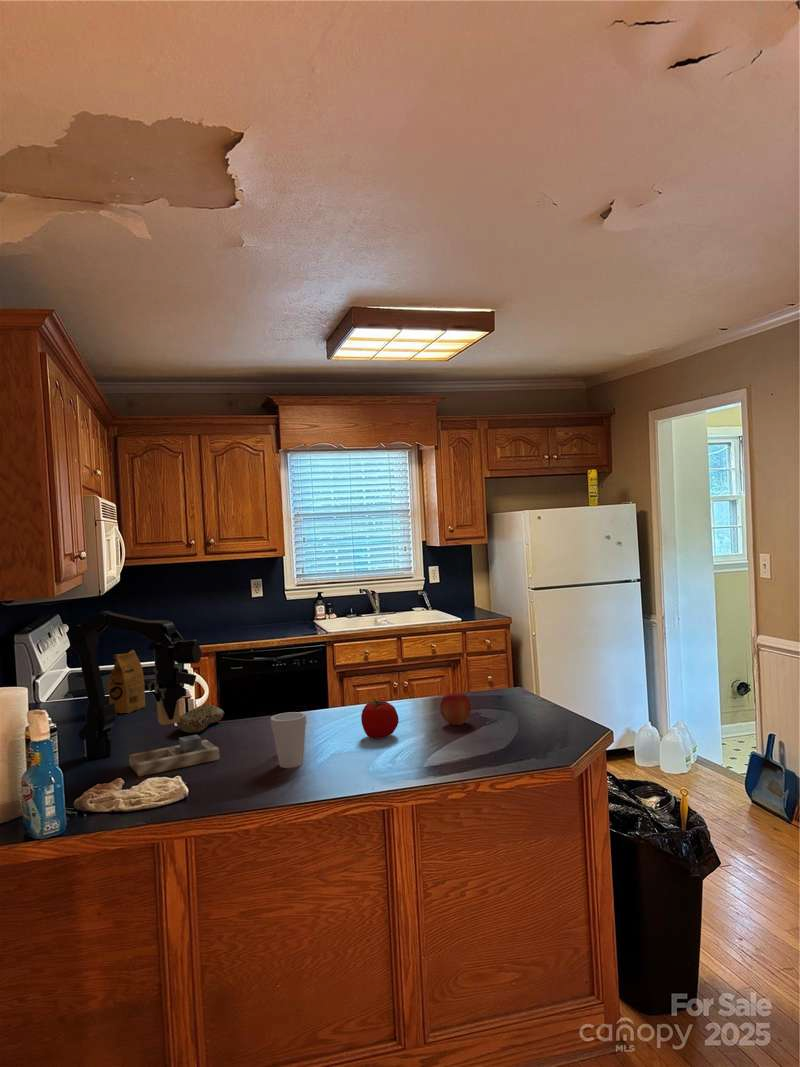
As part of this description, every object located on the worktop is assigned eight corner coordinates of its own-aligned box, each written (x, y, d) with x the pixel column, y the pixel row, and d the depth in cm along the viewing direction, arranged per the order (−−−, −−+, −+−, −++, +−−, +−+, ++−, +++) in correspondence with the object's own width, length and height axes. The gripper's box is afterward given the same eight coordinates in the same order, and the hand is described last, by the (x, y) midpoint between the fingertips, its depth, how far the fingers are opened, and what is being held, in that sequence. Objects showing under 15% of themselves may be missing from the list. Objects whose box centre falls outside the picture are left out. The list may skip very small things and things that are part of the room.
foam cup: (310, 757, 210) (307, 711, 210) (307, 768, 201) (304, 719, 201) (276, 760, 210) (272, 713, 210) (271, 770, 201) (268, 722, 200)
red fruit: (375, 730, 234) (372, 694, 234) (407, 733, 228) (404, 696, 228) (353, 741, 224) (350, 703, 224) (386, 744, 218) (383, 706, 218)
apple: (477, 725, 233) (475, 692, 233) (449, 730, 229) (447, 697, 229) (463, 718, 242) (461, 687, 242) (436, 723, 238) (434, 691, 238)
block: (162, 725, 218) (161, 704, 218) (158, 722, 222) (156, 701, 222) (180, 722, 221) (178, 701, 221) (175, 718, 225) (173, 698, 225)
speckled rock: (201, 724, 263) (160, 727, 245) (206, 701, 264) (165, 702, 246) (230, 733, 257) (190, 737, 239) (235, 710, 257) (195, 712, 240)
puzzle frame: (139, 776, 203) (137, 754, 203) (129, 765, 214) (128, 744, 214) (219, 759, 214) (218, 738, 214) (206, 749, 225) (205, 729, 225)
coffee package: (105, 714, 282) (101, 655, 282) (129, 706, 294) (125, 649, 294) (126, 715, 279) (122, 655, 278) (149, 706, 290) (145, 649, 290)
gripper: (202, 664, 218) (205, 718, 218) (183, 657, 234) (186, 707, 234) (163, 670, 212) (166, 725, 212) (146, 662, 228) (149, 714, 228)
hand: (168, 717), depth 221 cm, fingers closed on block, 5 cm apart
